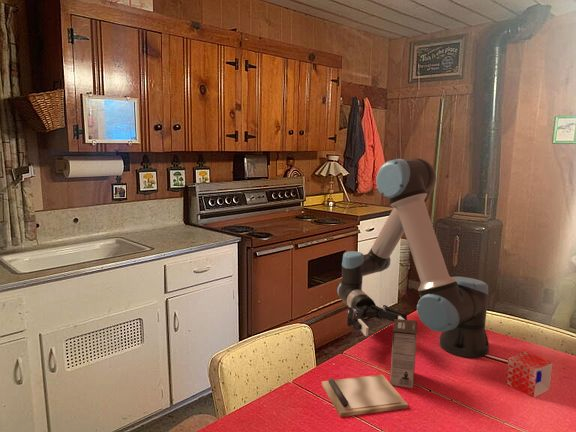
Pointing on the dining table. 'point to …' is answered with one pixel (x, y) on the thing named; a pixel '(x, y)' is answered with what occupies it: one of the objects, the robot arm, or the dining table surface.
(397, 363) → the coffee box
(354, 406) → the writing board
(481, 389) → the dining table surface
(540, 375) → the red patterned cube
